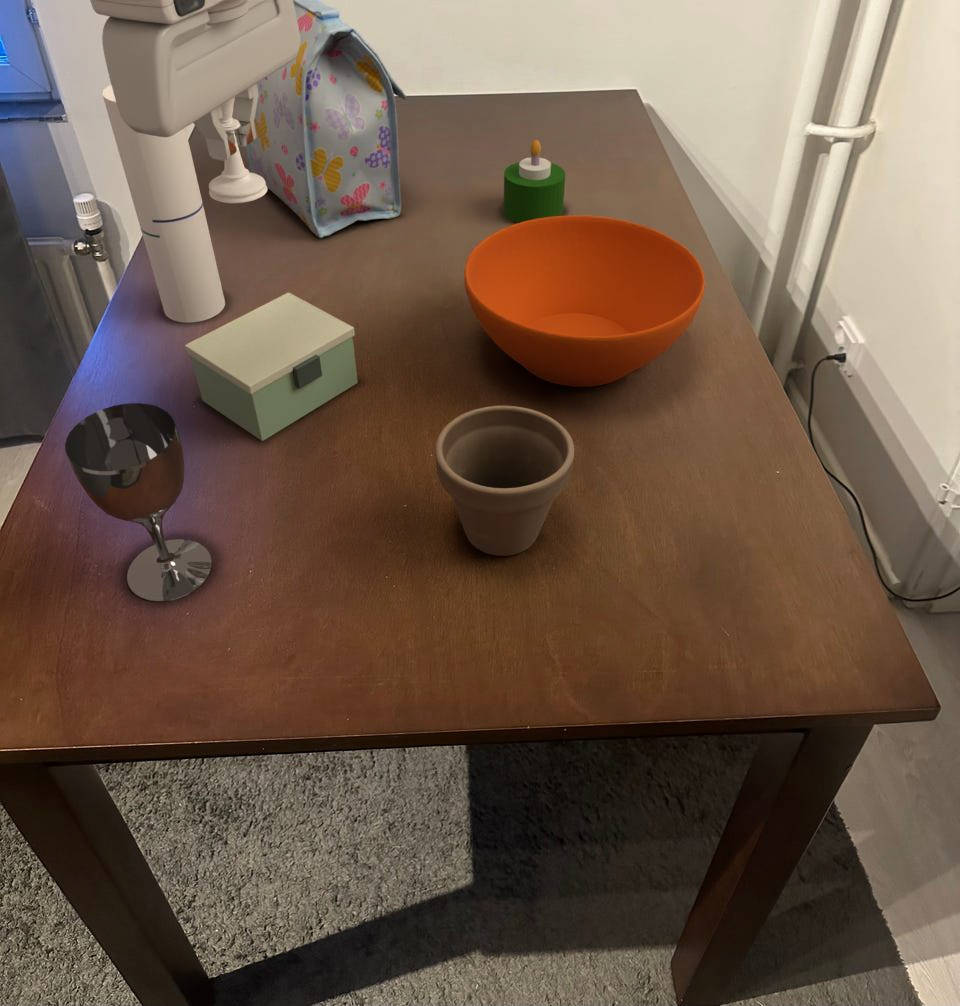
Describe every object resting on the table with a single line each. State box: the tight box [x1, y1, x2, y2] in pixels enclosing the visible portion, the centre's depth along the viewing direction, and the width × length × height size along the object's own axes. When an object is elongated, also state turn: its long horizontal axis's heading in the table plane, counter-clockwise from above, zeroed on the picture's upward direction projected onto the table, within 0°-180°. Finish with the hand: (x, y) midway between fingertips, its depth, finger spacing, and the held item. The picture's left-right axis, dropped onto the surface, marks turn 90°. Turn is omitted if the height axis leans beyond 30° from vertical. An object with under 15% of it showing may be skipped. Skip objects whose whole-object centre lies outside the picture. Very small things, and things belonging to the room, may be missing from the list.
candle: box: [503, 139, 566, 224], centre depth 121 cm, size 8×8×10 cm
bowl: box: [463, 214, 706, 388], centre depth 97 cm, size 25×25×10 cm
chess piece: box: [208, 97, 268, 204], centre depth 74 cm, size 5×5×10 cm
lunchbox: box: [184, 292, 359, 442], centre depth 92 cm, size 13×11×7 cm
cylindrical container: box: [101, 84, 226, 324], centre depth 98 cm, size 7×7×25 cm
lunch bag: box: [245, 0, 407, 239], centre depth 118 cm, size 22×17×26 cm
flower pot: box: [434, 405, 576, 557], centre depth 77 cm, size 12×11×10 cm
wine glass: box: [64, 402, 213, 603], centre depth 71 cm, size 8×8×15 cm
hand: (233, 149), depth 75 cm, fingers closed on chess piece
